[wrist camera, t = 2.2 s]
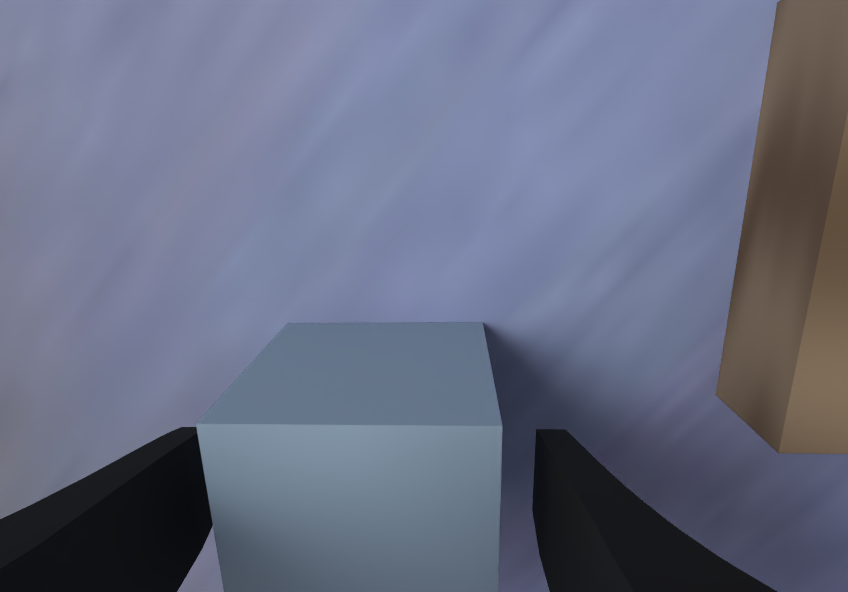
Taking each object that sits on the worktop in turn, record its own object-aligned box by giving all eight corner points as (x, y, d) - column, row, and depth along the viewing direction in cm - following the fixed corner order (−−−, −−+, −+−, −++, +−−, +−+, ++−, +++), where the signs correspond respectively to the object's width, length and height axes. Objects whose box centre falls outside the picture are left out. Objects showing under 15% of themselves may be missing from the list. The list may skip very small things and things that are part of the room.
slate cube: (480, 488, 14) (496, 661, 9) (305, 486, 14) (234, 654, 10) (482, 321, 13) (502, 426, 8) (288, 321, 13) (196, 423, 8)
